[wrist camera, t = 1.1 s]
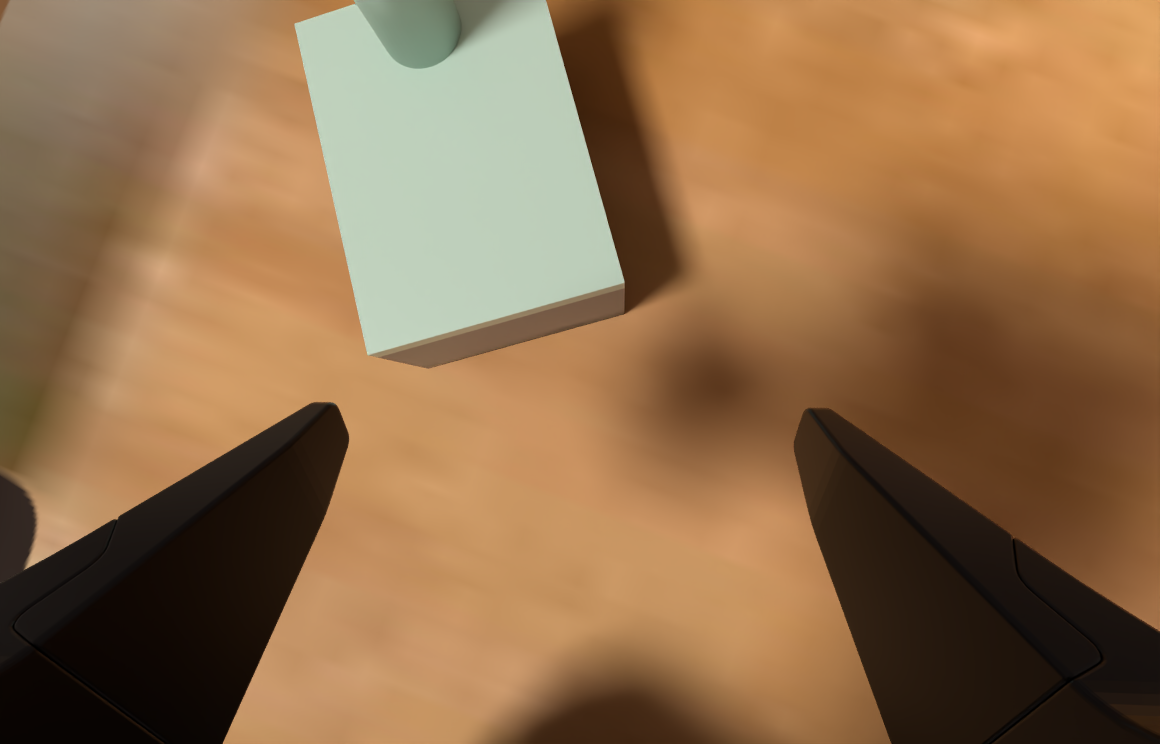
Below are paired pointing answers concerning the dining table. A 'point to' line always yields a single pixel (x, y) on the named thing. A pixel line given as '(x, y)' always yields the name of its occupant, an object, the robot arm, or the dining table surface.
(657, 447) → the dining table surface
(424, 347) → the parts tub
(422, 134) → the pale green stand
